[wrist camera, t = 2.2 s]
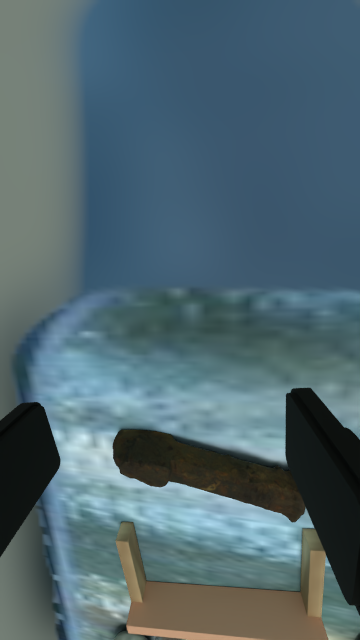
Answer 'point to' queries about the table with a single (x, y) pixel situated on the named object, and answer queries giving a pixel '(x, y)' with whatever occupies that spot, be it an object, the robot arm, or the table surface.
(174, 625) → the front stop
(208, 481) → the dark brown log
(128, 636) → the plastic bottle
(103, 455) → the table surface
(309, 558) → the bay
